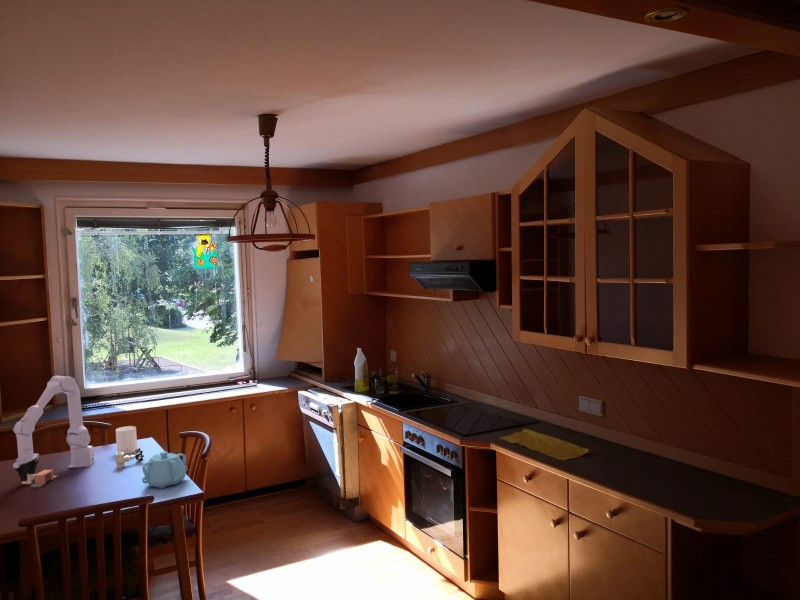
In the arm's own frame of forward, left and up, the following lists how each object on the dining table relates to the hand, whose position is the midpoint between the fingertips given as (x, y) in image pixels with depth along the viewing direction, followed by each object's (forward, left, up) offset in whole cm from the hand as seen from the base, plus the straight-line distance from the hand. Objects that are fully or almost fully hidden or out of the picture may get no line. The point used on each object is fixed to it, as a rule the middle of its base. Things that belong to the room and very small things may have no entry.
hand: (27, 479), depth 289 cm
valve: (-39, -13, -2) cm, 41 cm away
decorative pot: (-61, +20, -2) cm, 64 cm away
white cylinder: (-34, -36, -2) cm, 50 cm away
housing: (-7, +2, -1) cm, 8 cm away
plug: (-3, +1, -1) cm, 4 cm away
